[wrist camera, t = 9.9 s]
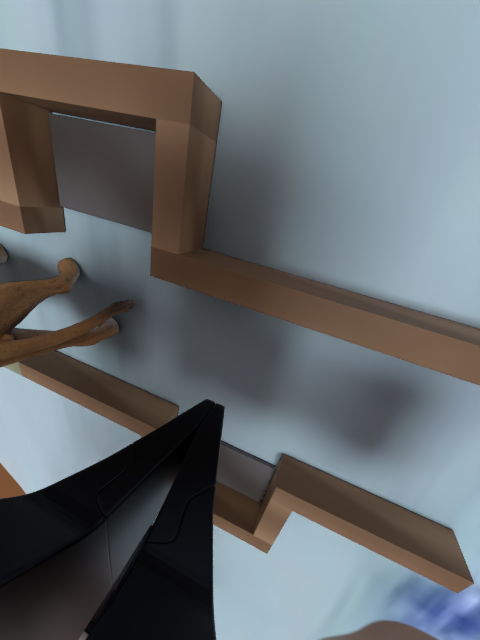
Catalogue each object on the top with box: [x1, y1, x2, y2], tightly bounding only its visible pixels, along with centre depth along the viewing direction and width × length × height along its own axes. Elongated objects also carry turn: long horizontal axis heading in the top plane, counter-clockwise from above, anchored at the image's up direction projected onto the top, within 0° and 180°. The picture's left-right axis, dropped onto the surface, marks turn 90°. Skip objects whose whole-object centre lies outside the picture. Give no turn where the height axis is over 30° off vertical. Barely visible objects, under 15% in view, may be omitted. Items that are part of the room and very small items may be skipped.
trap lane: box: [0, 49, 480, 593], centre depth 13 cm, size 22×36×2 cm, turn 78°
